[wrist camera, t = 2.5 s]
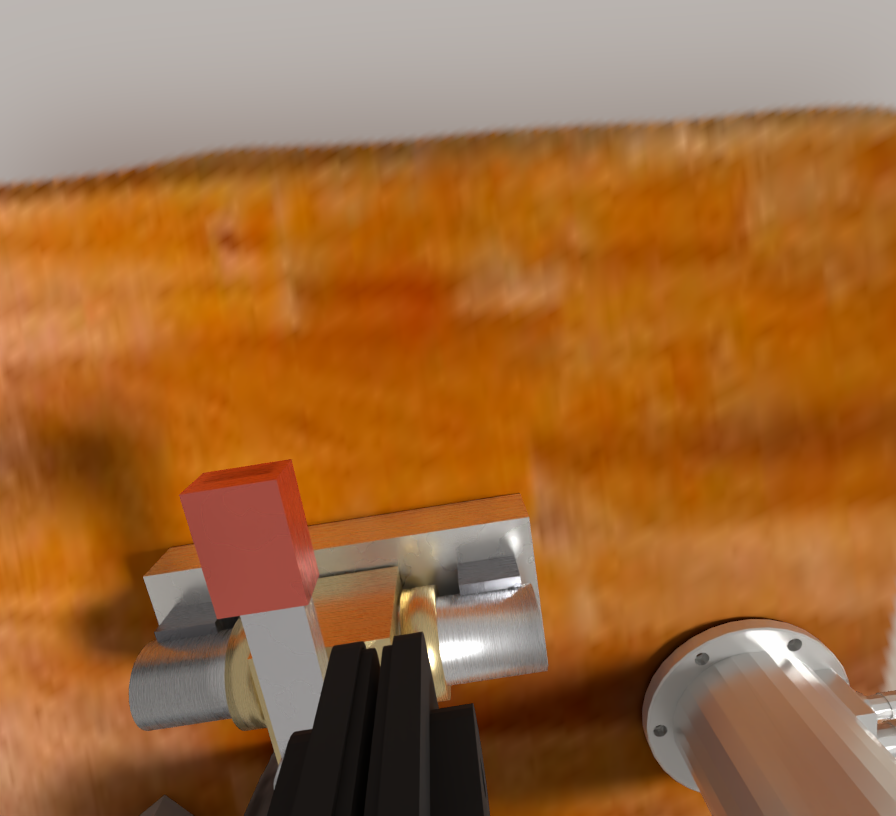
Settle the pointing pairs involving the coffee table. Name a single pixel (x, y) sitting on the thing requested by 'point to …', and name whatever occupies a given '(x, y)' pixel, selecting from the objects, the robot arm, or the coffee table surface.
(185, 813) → the dice cube
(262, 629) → the valve lever
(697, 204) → the coffee table surface
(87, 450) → the coffee table surface
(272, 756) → the beverage cup
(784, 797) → the robot arm
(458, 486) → the coffee table surface
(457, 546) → the pipe valve board
